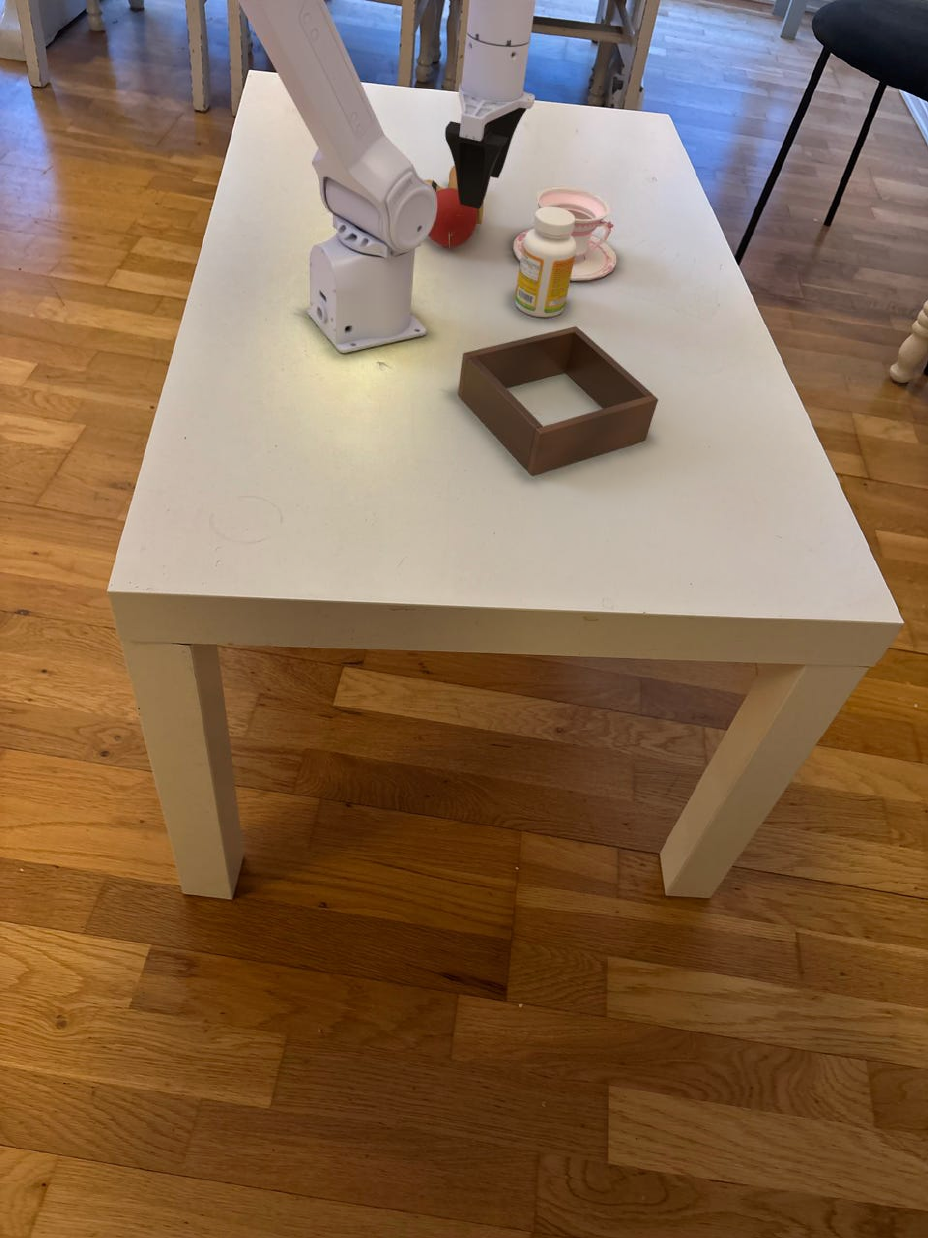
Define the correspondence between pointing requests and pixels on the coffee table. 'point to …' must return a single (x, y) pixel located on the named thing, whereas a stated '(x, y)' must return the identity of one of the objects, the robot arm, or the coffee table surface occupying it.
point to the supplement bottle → (546, 263)
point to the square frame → (564, 440)
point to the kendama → (453, 215)
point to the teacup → (580, 230)
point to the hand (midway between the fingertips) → (480, 189)
